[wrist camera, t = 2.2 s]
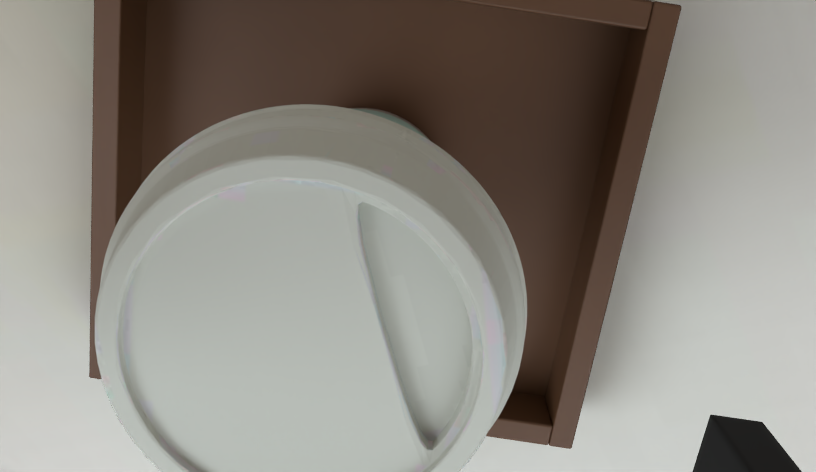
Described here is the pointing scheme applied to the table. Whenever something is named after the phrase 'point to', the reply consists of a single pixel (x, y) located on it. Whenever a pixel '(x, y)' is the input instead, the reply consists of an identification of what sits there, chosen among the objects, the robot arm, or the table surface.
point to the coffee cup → (310, 300)
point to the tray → (432, 114)
